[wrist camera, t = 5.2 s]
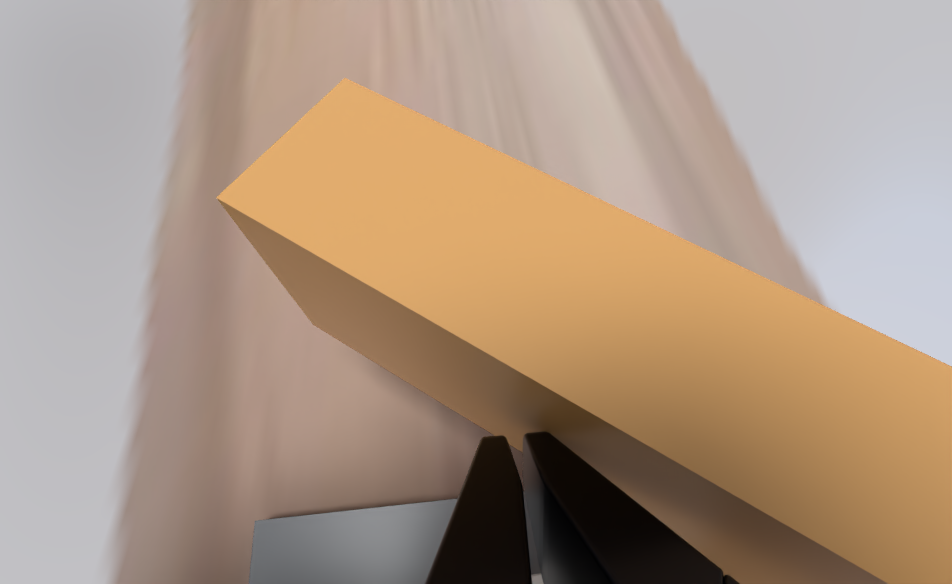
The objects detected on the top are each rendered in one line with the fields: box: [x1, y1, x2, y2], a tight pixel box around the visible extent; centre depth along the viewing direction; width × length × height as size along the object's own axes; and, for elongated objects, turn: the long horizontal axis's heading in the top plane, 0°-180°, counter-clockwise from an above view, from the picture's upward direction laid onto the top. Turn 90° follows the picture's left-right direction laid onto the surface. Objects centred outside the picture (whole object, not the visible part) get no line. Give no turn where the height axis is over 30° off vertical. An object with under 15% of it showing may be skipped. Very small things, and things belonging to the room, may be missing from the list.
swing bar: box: [216, 78, 952, 584], centre depth 8 cm, size 17×4×6 cm, turn 60°
